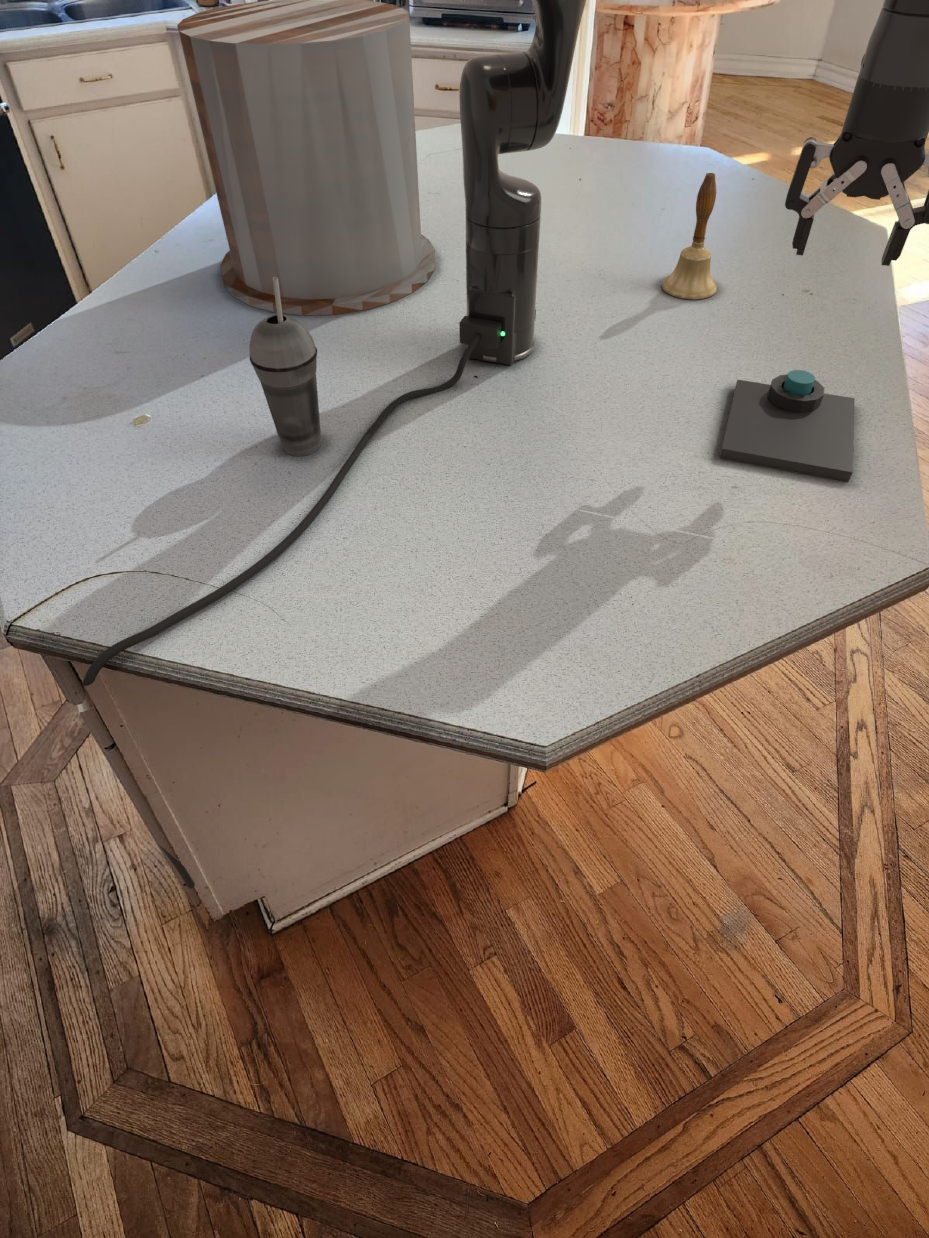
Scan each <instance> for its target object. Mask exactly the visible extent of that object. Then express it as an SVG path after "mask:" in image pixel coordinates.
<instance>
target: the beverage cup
mask: <svg viewBox="0 0 929 1238" xmlns="http://www.w3.org/2000/svg"><path fill="white" fill-rule="evenodd" d="M273 284H274V292H275V300H276V309H277V312H276V314H272V315H269V316H266V317H264V318H263V319H261V320H260V321H259V322H258V323H257V325H255V327H254V328H253V330H252V332H251V335H250V340H249V362H250V364H251V366H252V367H253V369H254V372H255V374H256V376H257V378H258V380H259V381H260V385H261V388H262V391H263V394H264V396H265V400H266V402H267V407H268V409H269V412H270V415H271V418H272V421H273V425H274V427H275V430H276V433H277V436H278V439H279V440H280V441H279V442H280V443H281V446H282V449H283V451H284V452H285V453H286V454H287V455H290V456H293V457H305V456H310V455H311V454H314V453H316V452H317V451H318V450H319V449H320V448H321V446H322V440H321V434H322V433H321V431H322V430H321V417H320V407H319V394H318V393H319V392H318V383H317V363H318V360H317V359H318V348H317V346H316V344H315V341H314V339H313V336H312V335H311V333H310V331H309V329H308V328H307V327H306V325H304V324H303V323H302V322H301V321H300V320H298V319H297V318H295V317H293V316H290V315H288V314H283V313H282V307H281V299H280V291H279V283H278V278H277V277H273Z"/></svg>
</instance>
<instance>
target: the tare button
mask: <svg viewBox="0 0 929 1238" xmlns="http://www.w3.org/2000/svg"><path fill="white" fill-rule="evenodd" d="M786 374H787V377H786V380H785V383H784V386H783V388H784V390H785V391H786V392H789V393H791V394H795V395H801V396H802V395H809V394H810V392H811V390H812V387H813V384H814V382H815V380H816V377H815V375H814V374H813V373H812V372H809V371H806V370H804V369H803V370H802V369H794V370H790V371H789V372H788V373H786Z"/></svg>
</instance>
